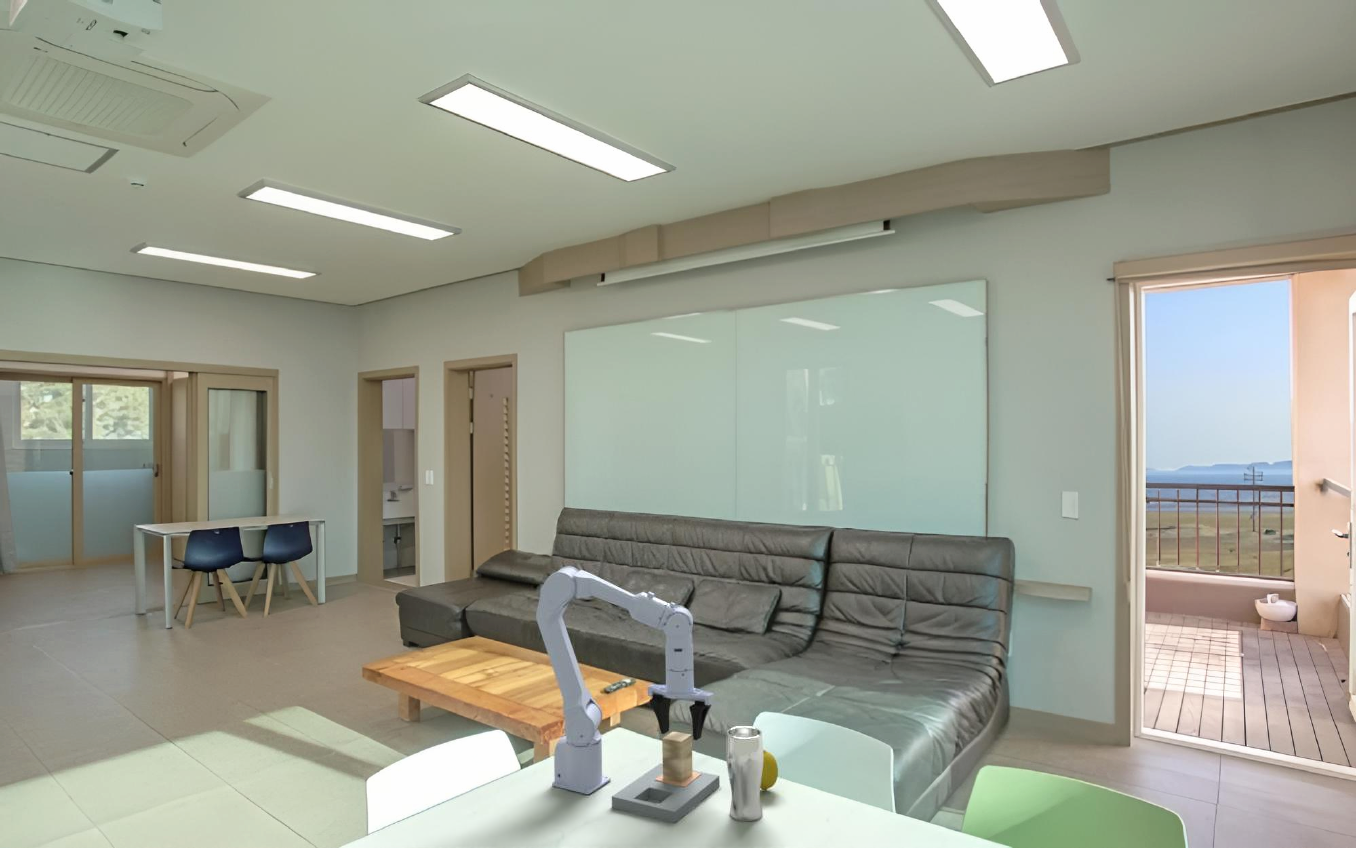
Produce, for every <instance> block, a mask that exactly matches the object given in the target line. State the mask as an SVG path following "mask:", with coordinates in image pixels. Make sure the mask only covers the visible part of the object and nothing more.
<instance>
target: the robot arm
mask: <svg viewBox="0 0 1356 848" xmlns="http://www.w3.org/2000/svg"><path fill="white" fill-rule="evenodd" d="M539 590H540V595H539V600H538V603H537V604H538V605H537V608H536V613H535V617H536V618H535V619H536V622H537V625H538V628H539V631H540V634H541V637H542V640H543V643H544V646H545V649H546V653H547V656H548V659H549V661H550V663H551V667H552V670H553V673H554V676H555V678H556V682H557V685H558V688H559V691H560V694H561V697H562V714H563V717H564V728H563V729H564V735H563V736H562V737H560V738H559V740H558V741H557V742H556V745H555V748H554V754H553V756H554V757H553V759H554V761H553V762H554V763H553V764H554V765H553V767H554V773H553V774H554V775H553V776H554V781H553V782H552V783H551V786H553V787H557V788H561V789H565V790H568V791H572V792H578V793H581V794H585V795H590V794H591V793H594V792H595V791H596V790H598V789H599V788H601V787H603V786H605V784H607V783H609V782H610V781H612V778H611V777H610V776H605V775H603V757H602V756H603V755H602V754H603V753H602V752H603V750H602V749H603V747H602V745H603V742H602V741H603V740H602V734H601V733H600V731H599V729H598V727H600V725H601V724H602V721H603V710H602V709H601V707H600V705H599V704H598V703H597V702H596V701H595V700H594V698H593V696H592V693H591V691H590V690H589V689H588V688H587V687H586V684H585V681H584V677H583V674H582V672H581V670H580V666H579V662H578V659H577V657H576V654H575V651H574V648H573V645H572V643H571V639H570V636H569V634H568V631H567V627H566V624H565V620H564V618H563V615H564V613H565V611H566V609H567V608H568V606H569V603H570V602H571V600H572V599H574V597H576V599H577V600H578V599H582V598H583V599H584V598H588V597H594V598H598V599H600V600H602V601H604V602H608V603H610V604H613V605H616V606H618V607H620V608H623V609H625V610H627V611H628V613H629V614H630V617H631V618H632V619H633V620H636V621H638V622H640V623H642V624H644V625H647V626H649V627H651V628H654V629H656V630H658V631H663V633H664V634H665V638H666V639H665V640H666V644H665V648H664V649H665V684H653V683H651V684H650V685H648V686H647V696H649V697H651V698H650V699H649V701H648V702H649V705H650V707H651V709H652V710H653V712H654V714H655V716H656V720H657V722H658V726H659V731H660V734H662V735H665V734H666V733H668V732H669V731H670V707H671V701H672V699H673V700H678V701H679V700H680V701H686V702H693V704H692V705H690V706H689V708H688V709H689V712H690V716H691V723H692V741H698V740H700V739H701V738H702V733H703V728H704V725H705V724H704V723H705V722H706V721H705V720H706V719H707V716H708V713H709V711H710V708H711V707H712V704H713V703H715V702H714V697H715V696H714V693H713V692H708V691H705V690H702V689H699V688H696V687H695V682H694V681H695V678H694V677H695V675H694V673H695V672H694V644H693V633H692V631H693V625H694V618H693V614H692V613H691V612H690V610H689V609H688V608H686V607H685V606H684V605H676V603H674V602H672V601H671V602H670V603H669V602H667V601H664V600H662V599H660V598H657V597H656V596H655V593H653V592H651V591H648V592H647V593H646V592H644V591H642V592H639V593H637V594H633V593H632V592H629V591H627V590H626V589H623V588H621V587H619V586H617V585H615V584H613V583H611V582H609V581H607V580H605V579H602V578H601V577H599V576H597V575H595V574H592V573H590V572H588V571H586V570H582V569H580V570H579V569H578V568H576V567H574V566H570V565H569V566H567V565H566V566H563V567H561V568H559V569H558V571H556V572H553V573H552V574H550V575H549V576H548V577H547V579H546V580H545V581H544V583H543V584H542V585H541V587H540V589H539Z"/></svg>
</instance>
